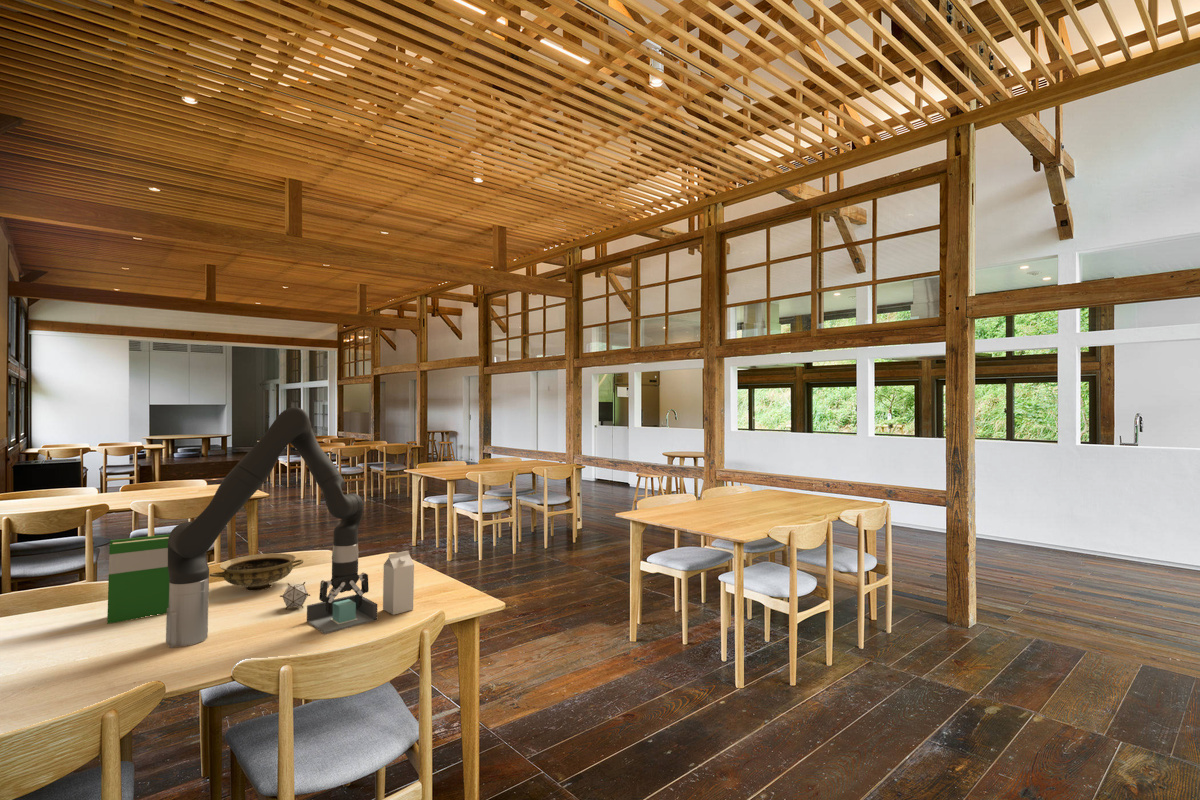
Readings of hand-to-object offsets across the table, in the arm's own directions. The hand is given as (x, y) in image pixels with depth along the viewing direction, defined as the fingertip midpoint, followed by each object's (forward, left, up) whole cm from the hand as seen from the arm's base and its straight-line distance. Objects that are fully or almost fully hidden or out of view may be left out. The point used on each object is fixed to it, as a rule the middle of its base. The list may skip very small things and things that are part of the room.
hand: (344, 610), depth 179 cm
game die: (-6, +24, -4) cm, 25 cm away
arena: (0, +1, -3) cm, 3 cm away
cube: (0, 0, -3) cm, 3 cm away
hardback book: (-42, +51, -4) cm, 66 cm away
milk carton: (+17, -2, -4) cm, 17 cm away
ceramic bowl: (-8, +56, -4) cm, 56 cm away
